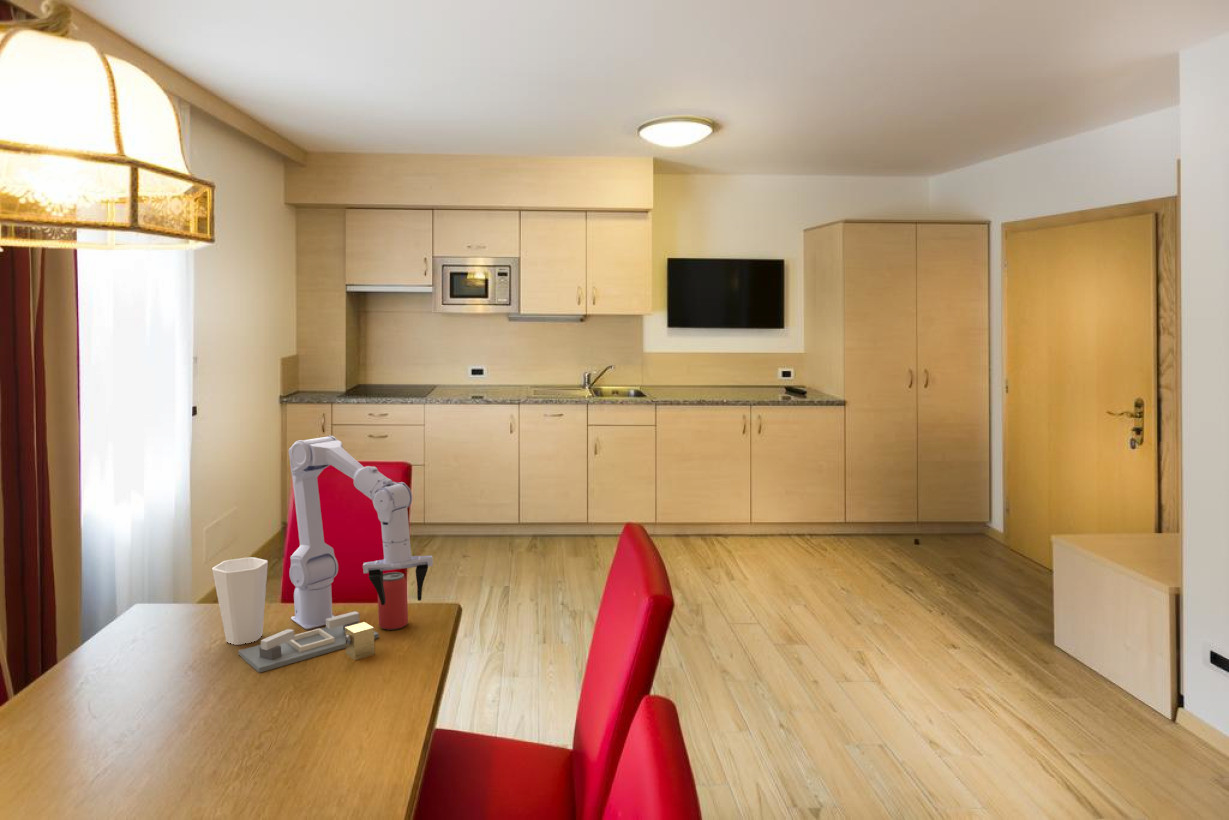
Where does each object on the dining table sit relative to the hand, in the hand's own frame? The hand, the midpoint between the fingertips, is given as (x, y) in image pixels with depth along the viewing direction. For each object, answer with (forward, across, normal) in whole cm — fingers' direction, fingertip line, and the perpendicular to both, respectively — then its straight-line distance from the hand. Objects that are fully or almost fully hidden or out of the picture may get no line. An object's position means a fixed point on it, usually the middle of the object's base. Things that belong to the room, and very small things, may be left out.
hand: (401, 601), depth 174 cm
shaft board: (+9, -20, +4) cm, 22 cm away
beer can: (+9, -4, +12) cm, 16 cm away
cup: (+8, -36, +11) cm, 38 cm away
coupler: (+10, -9, -3) cm, 14 cm away
